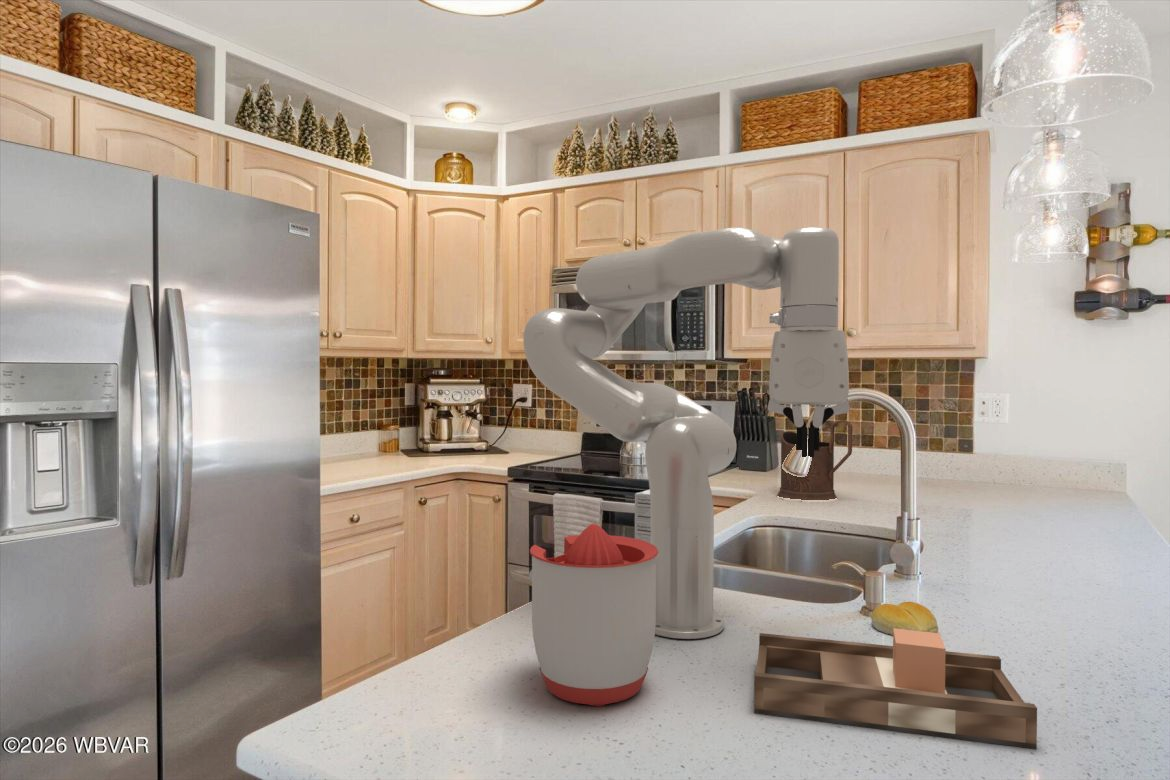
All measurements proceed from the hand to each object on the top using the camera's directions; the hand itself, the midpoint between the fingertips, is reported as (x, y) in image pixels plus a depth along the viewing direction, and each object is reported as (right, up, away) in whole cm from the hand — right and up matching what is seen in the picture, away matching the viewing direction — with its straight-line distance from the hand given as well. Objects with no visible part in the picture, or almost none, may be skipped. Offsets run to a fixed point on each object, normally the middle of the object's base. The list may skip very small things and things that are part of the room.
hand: (807, 455), depth 97 cm
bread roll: (+18, -27, +10) cm, 34 cm away
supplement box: (-15, -27, +34) cm, 46 cm away
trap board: (+4, -27, -14) cm, 31 cm away
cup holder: (+41, -25, +125) cm, 134 cm away
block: (+8, -24, -16) cm, 30 cm away
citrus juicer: (-30, -27, -10) cm, 42 cm away
